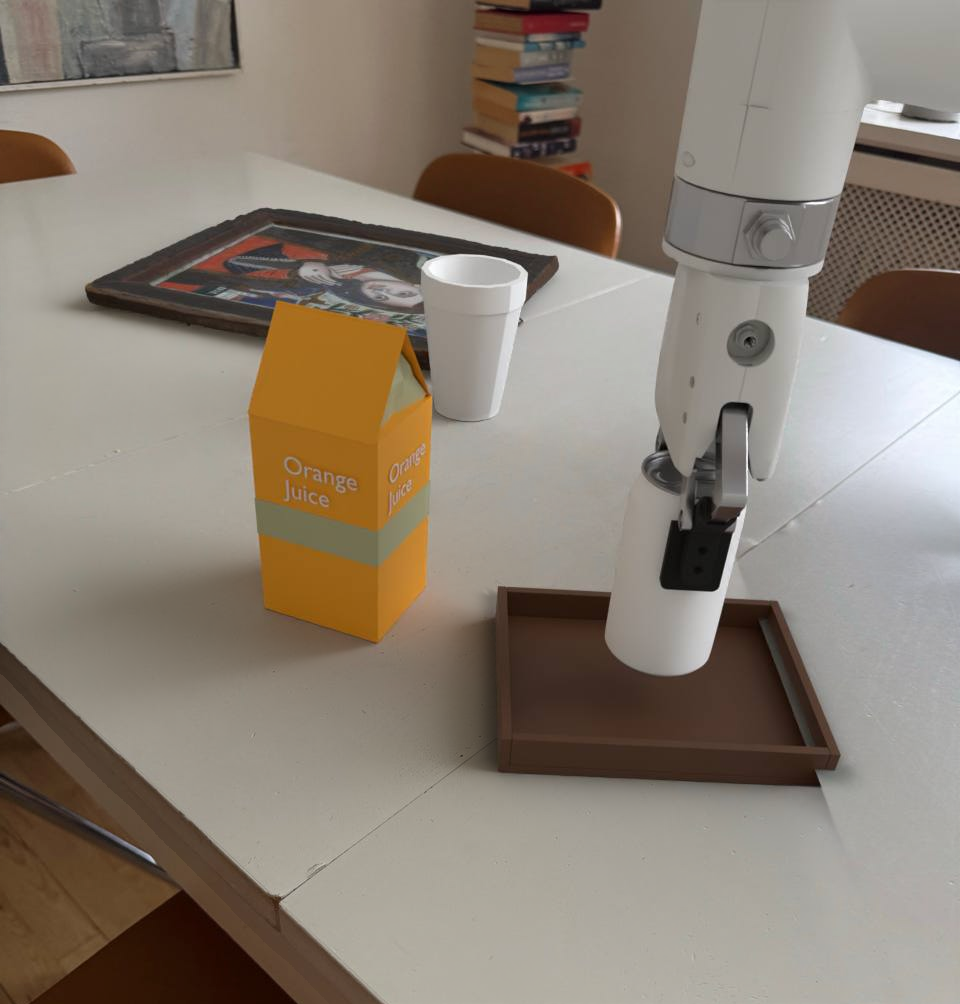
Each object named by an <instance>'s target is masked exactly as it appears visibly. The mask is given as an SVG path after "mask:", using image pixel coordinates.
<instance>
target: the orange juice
mask: <svg viewBox="0 0 960 1004" xmlns="http://www.w3.org/2000/svg"><path fill="white" fill-rule="evenodd" d="M406 331H407V328H404V327H400V326H395V325H390V324H386V323H381V322H376V321H372V320H367V319H362V318H358V317H353V316H348V315H344V314H339V313H334V312H330V311H325V310H320V309H316V308H311V307H306V306H302V305H297V304H292V303H288V302H283V301H278V300H277V301H276V305H275V309H274V312H273V316H272V320H271V324H270V328H269V332H268V335H267V338H265V344H264V347H263V350H262V355H261V359H260V362H259V367H258V370H257V374H256V378H255V381H254V386H253V390H252V393H251V397H250V401H249V404H248V409H247V412H246V413H247V415H248V427H249V438H250V451H251V461H252V472H253V473H252V474H253V475H252V476H253V483H254V484H253V486H254V496H255V497H254V508H255V519H256V521H255V522H256V531H257V534H258V545H259V557H260V569H261V582H262V593H263V605H264V609H267V610H269V611H272V612H273V611H274V612H277V613H280V614H283V615H286V616H290V617H292V618H296V619H299V620H302V621H306V622H308V623H311V624H316V625H319V626H321V627H324V628H327V629H331V630H334V631H338V632H340V633H344V634H347V635H351V636H354V637H356V638H360V639H362V640H366V641H370V642H373V643H376V644H378V643H379V642H381V640H382V639H383V638H384V636H385V635H387V633H388V632H389V631H390V630H391V628H392V627H393V626H394V625H395V623H396V622H397V621H398V620H399V619H400V618H401V617H402V615H404V613H405V612H406V611H407V610H408V608H410V606H411V605H412V604H413V602H414V601H415V600H416V599H417V598H418V597H419V595H420V594H421V593H422V592H423V591H424V589H426V587H427V564H428V562H427V561H428V537H429V536H428V535H429V534H428V533H429V515H430V503H431V502H430V501H431V500H430V499H431V478H430V477H431V475H430V474H431V448H432V421H433V420H432V418H433V394H432V395H431V393H430V391H429V387H428V385H427V382H426V380H425V377H424V375H423V372H422V369H420V366H419V364H418V361H417V358H416V356H415V353H414V350H413V348H412V345H411V342H410V340H409V337H408V334H407V332H406Z"/></svg>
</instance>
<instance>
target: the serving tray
mask: <svg viewBox="0 0 960 1004" xmlns="http://www.w3.org/2000/svg"><path fill="white" fill-rule="evenodd" d="M496 592H497V593H496V602H495V603H496V604H495V617H494V618H495V619H494V621H495V624H494V625H495V629H494V630H495V675H496V676H495V683H496V687H495V688H496V690H495V691H496V732H497V733H496V736H497V737H496V742H497V743H496V744H497V745H496V746H497V772H499V773H513V774H514V773H516V774H535V775H537V774H539V775H559V776H580V777H599V778H600V777H601V778H621V779H622V778H623V779H643V780H644V779H645V780H666V781H667V780H668V781H669V780H670V781H687V782H688V781H689V782H707V783H708V782H709V783H710V782H711V783H731V784H736V783H737V784H753V785H755V784H757V785H776V786H795V787H796V786H799V787H817V788H818V787H820V788H821V787H822V784H821V781H820V779H819V776H818V774H817V771H819V770H820V771H836V769H837V767H838V764H839V761H840V758H841V757H842V756H841V755H842V754H841V752H840V749H839V746H838V744H837V742H836V739H835V737H834V734H833V732H832V729H831V727H830V724H829V723H828V720H827V717H826V715H825V712H824V710H823V707H822V705H821V703H820V700H819V698H818V695H817V693H816V691H815V688H814V686H813V684H812V683H813V682H812V681H811V678H810V676H809V673H808V671H807V668H806V666H805V664H804V661H803V660H802V659H803V658H802V656H801V654H800V652H799V649H798V647H797V645H796V642H795V640H794V637H793V635H792V632H791V630H790V628H789V625H788V622H787V620H786V618H785V615H784V613H783V611H782V608H781V605H780V603H779V601H778V600H773V599H772V600H771V599H768V600H767V599H752V598H751V599H747V598H730V597H729V598H728V597H725V599H724V603H723V607H722V611H721V615H720V619H719V622H718V626H717V630H716V634H715V638H714V642H713V645H712V649H711V652H710V655H709V658H708V660H707V661H706V663H705V664H704V665H703V666H701V667H700V668H699V669H697V670H695V671H693V672H691V673H689V674H687V675H684V676H679V677H671V678H663V677H654V676H649V675H645V674H642V673H639V672H636V671H634V670H632V669H630V668H628V667H627V666H625V665H624V664H622V663H621V662H620V661H619V660H618V659H617V658H616V657H615V656H614V654H613V653H612V652H611V650H610V649H609V647H608V646H607V643H606V641H605V629H606V623H607V617H608V611H609V605H610V599H611V593H612V591H597V590H579V589H578V590H577V589H561V588H560V589H559V588H541V587H521V586H520V587H519V586H505V585H498V586H497V591H496ZM761 620H766V621H767V624H768V625H769V628H770V631H771V634H772V637H773V639H774V642H775V644H776V646H777V649H778V652H779V655H780V657H781V660H782V662H783V665H784V667H785V670H786V673H787V675H788V678H789V680H790V683H791V685H792V688H793V690H794V694H795V696H796V699H797V701H798V704H799V707H800V709H801V711H802V714H803V716H804V719H805V721H806V724H807V727H808V730H809V732H810V734H811V737H812V740H813V743H814V744H815V746H807V745H806V741H805V738H804V736H803V733H802V731H801V728H800V725H799V722H798V721H797V717H796V715H795V712H794V709H793V707H792V703H791V701H790V698H789V696H788V693H787V691H786V689H785V686H784V682H783V680H782V677H781V675H780V673H779V670H778V666H777V664H776V661H775V659H774V656H773V654H772V650H771V648H770V645H769V643H768V641H767V637H766V635H765V632H764V630H763V627H762V623H761V622H760V621H761Z"/></svg>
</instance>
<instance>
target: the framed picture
mask: <svg viewBox="0 0 960 1004" xmlns="http://www.w3.org/2000/svg"><path fill="white" fill-rule="evenodd" d="M457 254H469V255H485V256H491V257H496V258H501V259H506V260H508V261H511V262H513V263H516V264H518V265H521V266H522V267H523V268H524V269H525V270H526V271H527V272H528V277H527V288H526V299H525V301H524V304H523V306H524V305H526V303H527V302H529V301H530V299H531V298H532V297H533V296H534V295H535V294H536V293H537V291H539V290H540V289H541V288H542V287H544V286H545V285H546V284H547V283H548V282H549V281H550V280H551V279H552V278H553V277H554V276H556V275H555V274H556V273H557V272H558V271H559V268H560V262H559V257H558V255H557V254H554V255H546V254H539V253H532V252H527V251H522V250H518V249H512V248H509V247H503V246H498V245H497V246H496V245H490V244H485V243H482V242H477V241H473V240H467V239H465V238H460V237H452V236H446V235H440V234H436V233H431V232H423V231H418V230H412V229H405V228H401V227H394V226H393V227H392V226H388V225H382V224H374V223H363V222H362V221H357V220H354V219H353V220H349V219H347V218H343V217H338V216H332V215H324V214H319V213H315V212H306V211H301V210H294V209H287V208H286V209H285V208H271V207H260V208H257V209H254V210H252V211H250V212H247V213H246V214H239V215H237V216H236V217H234V219H226V220H224V221H222V222H220V223H217V224H216V225H214V226H210V227H206V228H204V229H203V230H200V231H199V232H198V231H197V232H196V233H195V232H194V234H191V235H189V236H187V237H186V238H183V239H180V240H178V241H176V242H173V243H172V244H170V245H168V246H166V247H163V248H161V249H159V250H156V251H154V252H152V253H151V254H149V255H147V256H145V257H141V258H139V259H136V260H134V262H132V263H129V264H126V265H124V266H122V267H119V268H118V269H116V270H114V271H113V270H112V271H111V272H108V273H107V274H103V275H102V276H101V277H98V278H95V279H94V280H93V281H91V282H88V283H87V284H86V285H85V286H84V291H85V295H86V298H87V300H88V302H89V304H93V305H96V306H99V307H104V308H108V309H113V310H118V311H123V312H127V313H131V314H132V313H133V314H137V315H142V316H147V317H152V318H157V319H162V320H167V321H173V322H177V323H181V324H185V325H186V326H187V327H190V326H198V327H202V328H207V329H212V330H217V331H222V332H228V333H235V334H242V335H247V336H252V337H257V338H262V339H267V335H268V332H269V328H270V324H271V320H272V316H273V312H274V309H275V305H276V301H277V300H278V301H283V302H288V303H292V304H297V305H302V306H306V307H311V308H316V309H320V310H325V311H330V312H334V313H339V314H344V315H348V316H353V317H358V318H362V319H367V320H372V321H376V322H381V323H386V324H390V325H395V326H400V327H404V328H407V331H406V332H407V334H408V337H409V340H410V342H411V345H412V348H413V350H414V353H415V356H416V358H417V361H418V364H419V366H420V369H421V371H422V370H424V371H428V372H429V371H430V361H429V351H428V341H427V331H426V321H425V311H424V301H423V297H422V296H421V268H422V266H423V265H424V264H425V262H426V261H428V260H431V259H434V258H437V257H440V256H447V255H457ZM524 322H525V321H524V320H523V319H522V317H519V322H518V325H523V324H524ZM430 372H431V371H430Z"/></svg>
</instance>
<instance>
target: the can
mask: <svg viewBox="0 0 960 1004" xmlns="http://www.w3.org/2000/svg"><path fill="white" fill-rule="evenodd" d="M696 468H713V469H715V457H702V458H697V461H696ZM682 476H683V474H682V473H680V472H679V470H678V469H677V468H676V467H675V466H674V464H673V461H672V459H671V456H670V453H669V450H662V451H658V452H655V451H654V452H653V453H651V454H650V455H648V456H646V457H645V458H644V459H643V461H642V463H641V472H639V474H638V475H637V476H636V477H635V479H634V481H633V482H632V484H631V486H630V489H629V492H628V497H627V502H626V507H625V513H624V518H623V525H622V530H621V535H620V541H619V547H618V553H617V559H616V563H615V570H614V576H613V581H612V588H611V592H612V593H611V599H610V605H609V611H608V617H607V623H606V629H605V641H606V643H607V646H608V647H609V649H610V650H611V652H612V653H613V654H614V656H615V657H616V658H617V659H618V660H619V661H620V662H621V663H622V664H624V665H625V666H627V667H628V668H630V669H632V670H634V671H636V672H639V673H642V674H645V675H649V676H654V677H663V678H671V677H679V676H684V675H687V674H689V673H691V672H693V671H695V670H697V669H699V668H700V667H701V666H703V665H704V664H705V663H706V661H707V660H708V658H709V655H710V652H711V649H712V645H713V642H714V638H715V634H716V630H717V626H718V622H719V619H720V615H721V611H722V607H723V603H724V599H725V598H726V595H727V591H728V586H729V584H730V579H731V575H732V571H733V567H734V564H735V560H736V556H737V551H738V547H739V544H740V540H741V535H742V531H743V527H744V522H745V518H746V513H747V506H748V505H747V504H746V507H745V508H744V509H743V510H742V511H741V513H740V516H739V517H737V523H736V528H735V531H734V533H733V535H732V539H731V543H730V547H729V551H728V555H727V559H726V563H725V567H724V571H723V575H722V579H721V583H720V586H719V588H718V589H717V590H716V591H714V592H704V591H685V590H667V589H663V588H662V587H661V584H660V580H659V577H660V573H661V568H662V563H663V558H664V553H665V548H666V543H667V538H668V533H669V528H670V524H671V520H678V515H679V506H680V496H681V486H682ZM714 485H715V482H714V481H697V490H696V499H695V504H696V503H697V502H698V501H699V500H700V499H701V498H702V497H703V496H711V491H712V490H713V488H714Z"/></svg>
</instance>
